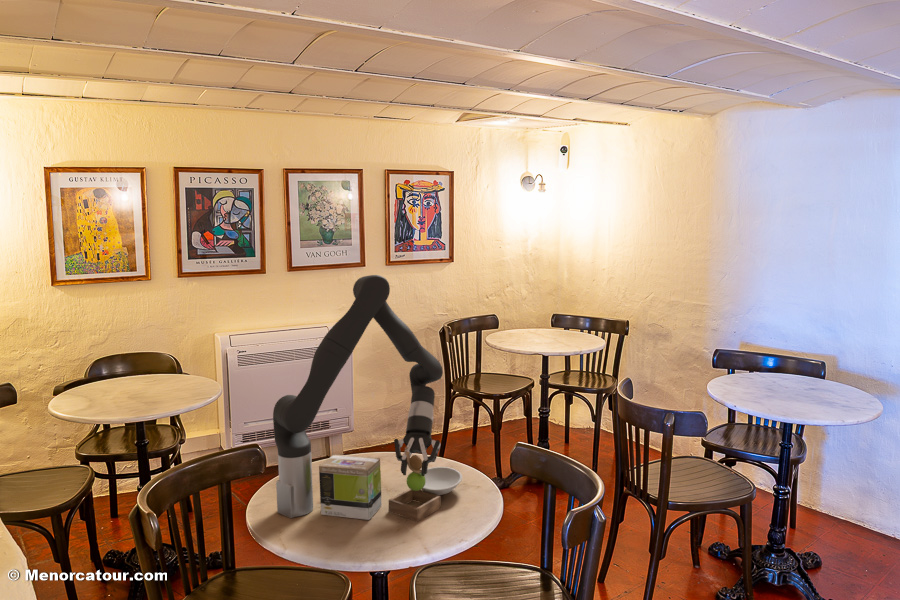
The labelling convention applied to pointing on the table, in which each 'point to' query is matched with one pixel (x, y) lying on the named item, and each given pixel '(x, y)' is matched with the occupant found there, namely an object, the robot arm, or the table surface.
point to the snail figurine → (414, 472)
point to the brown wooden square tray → (401, 508)
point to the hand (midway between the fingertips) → (413, 474)
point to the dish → (441, 480)
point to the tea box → (350, 486)
